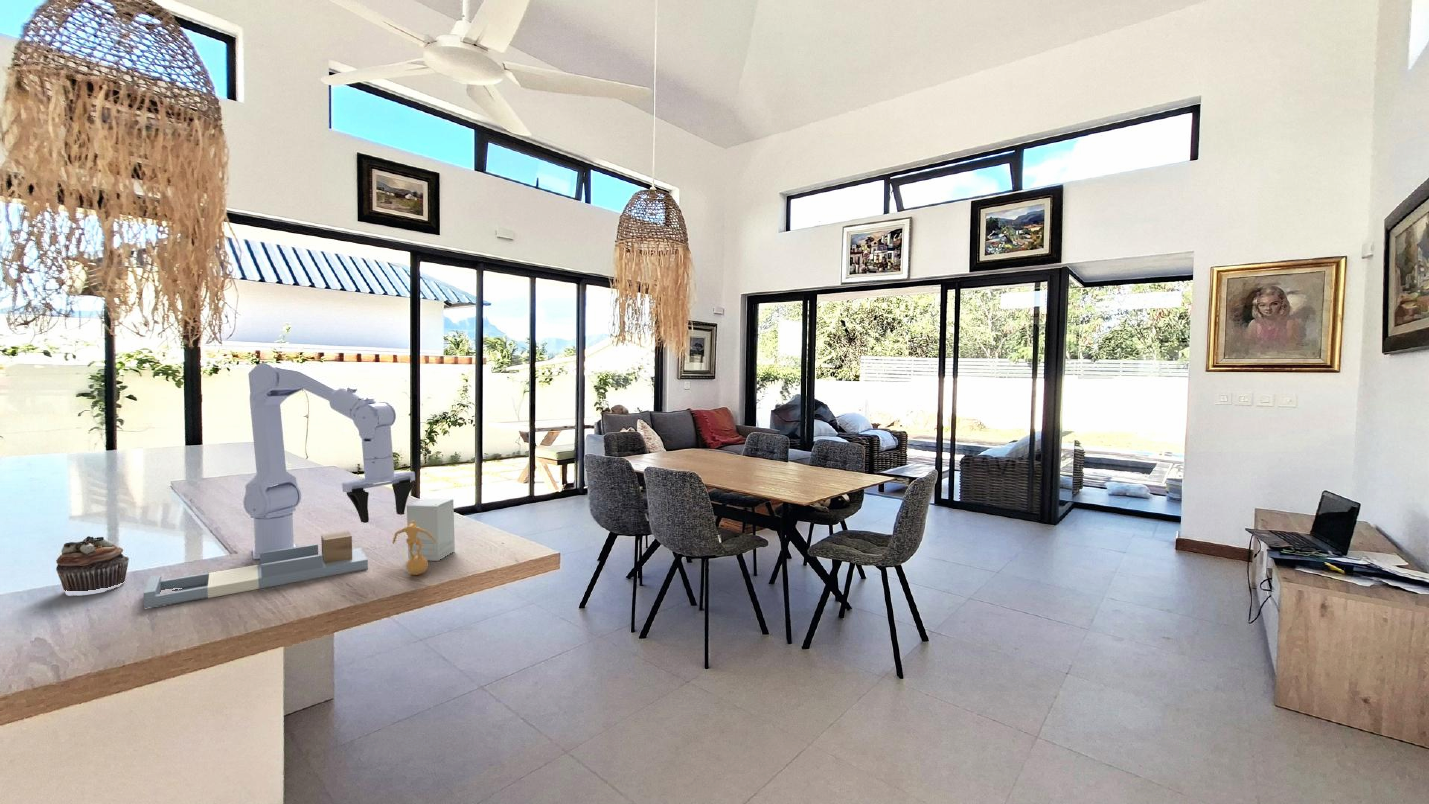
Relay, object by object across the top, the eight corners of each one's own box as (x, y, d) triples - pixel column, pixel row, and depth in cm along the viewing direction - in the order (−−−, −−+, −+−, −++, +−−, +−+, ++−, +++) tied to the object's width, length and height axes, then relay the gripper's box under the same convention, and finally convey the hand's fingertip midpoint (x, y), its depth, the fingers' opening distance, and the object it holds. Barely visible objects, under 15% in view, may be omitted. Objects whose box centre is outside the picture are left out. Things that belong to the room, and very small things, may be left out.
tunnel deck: (150, 592, 111) (149, 569, 111) (360, 556, 133) (359, 537, 132) (144, 609, 103) (143, 584, 103) (367, 568, 125) (367, 548, 125)
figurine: (441, 570, 125) (440, 515, 124) (431, 580, 119) (430, 522, 118) (400, 571, 123) (399, 516, 123) (388, 582, 117) (387, 523, 117)
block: (321, 557, 126) (321, 534, 126) (348, 552, 129) (348, 530, 129) (324, 563, 122) (323, 540, 122) (352, 558, 125) (351, 536, 125)
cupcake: (103, 596, 109) (101, 544, 108) (41, 599, 107) (38, 546, 106) (143, 578, 118) (141, 529, 117) (87, 581, 116) (84, 531, 116)
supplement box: (455, 551, 137) (455, 498, 137) (437, 561, 130) (436, 506, 129) (426, 550, 138) (425, 497, 137) (406, 560, 131) (405, 504, 130)
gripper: (350, 463, 120) (356, 528, 121) (420, 453, 132) (424, 512, 133) (335, 461, 124) (341, 524, 125) (404, 452, 136) (408, 509, 137)
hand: (383, 518), depth 129 cm, fingers open, 7 cm apart
